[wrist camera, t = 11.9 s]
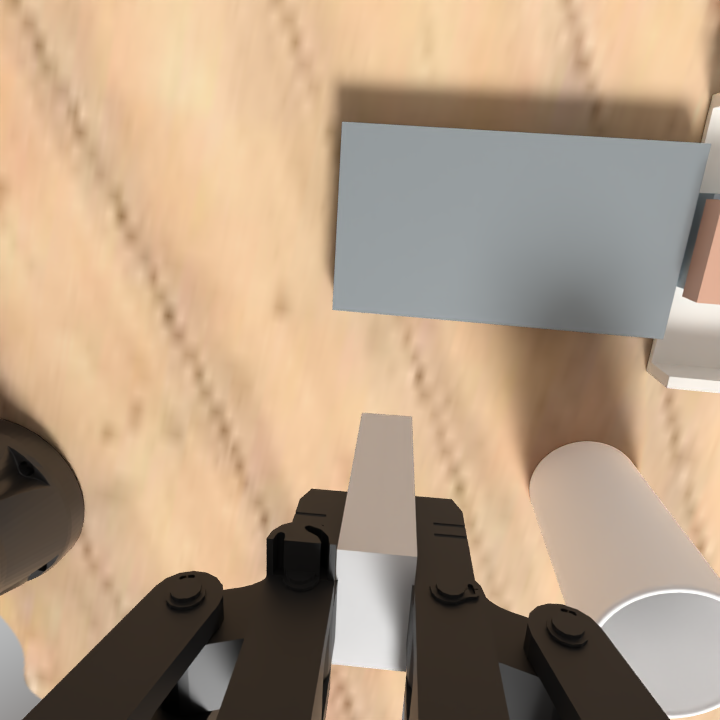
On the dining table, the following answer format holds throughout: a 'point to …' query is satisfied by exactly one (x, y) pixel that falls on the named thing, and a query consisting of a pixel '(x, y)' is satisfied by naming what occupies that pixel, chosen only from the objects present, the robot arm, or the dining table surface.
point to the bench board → (514, 227)
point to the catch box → (693, 307)
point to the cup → (632, 572)
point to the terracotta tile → (706, 258)
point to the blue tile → (693, 236)
